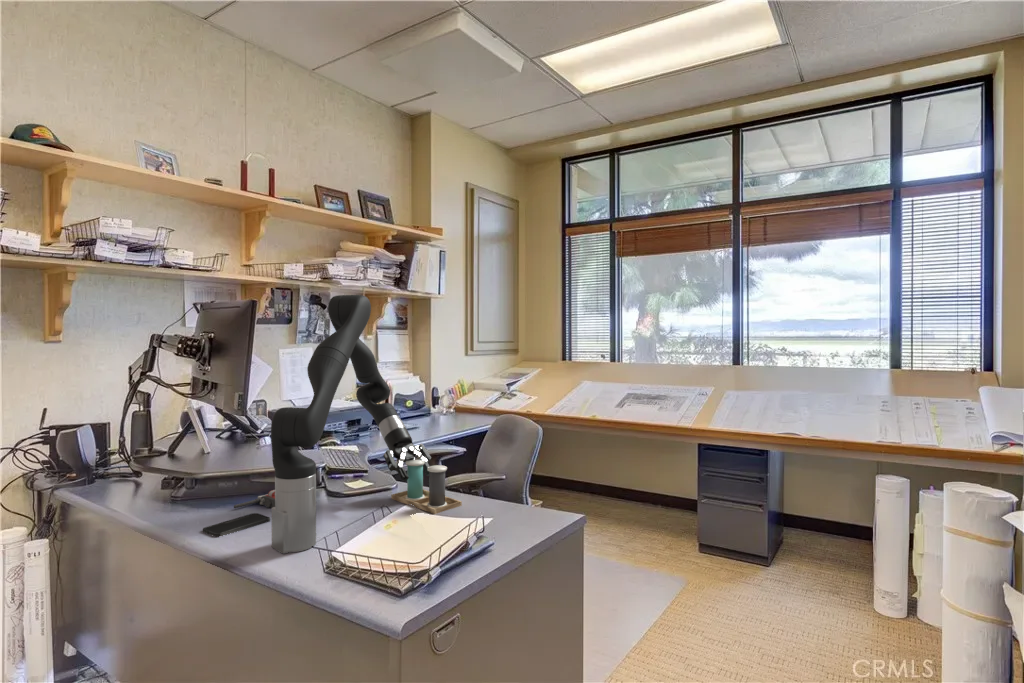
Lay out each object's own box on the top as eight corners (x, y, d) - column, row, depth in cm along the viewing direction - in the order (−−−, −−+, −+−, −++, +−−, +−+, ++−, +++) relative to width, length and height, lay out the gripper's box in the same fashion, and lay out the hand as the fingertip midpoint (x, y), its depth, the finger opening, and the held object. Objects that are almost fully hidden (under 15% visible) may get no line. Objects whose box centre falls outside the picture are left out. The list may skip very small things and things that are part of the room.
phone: (272, 518, 153) (217, 534, 141) (271, 522, 153) (217, 539, 141) (255, 512, 157) (200, 528, 145) (255, 516, 157) (200, 532, 145)
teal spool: (413, 502, 165) (413, 464, 165) (401, 498, 169) (401, 461, 169) (428, 498, 169) (428, 461, 169) (416, 494, 173) (416, 458, 173)
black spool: (435, 510, 158) (436, 471, 158) (423, 505, 162) (423, 467, 162) (450, 505, 162) (451, 467, 162) (438, 501, 166) (438, 464, 166)
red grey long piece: (293, 494, 178) (231, 511, 162) (293, 480, 178) (231, 495, 162) (310, 499, 173) (248, 516, 157) (310, 485, 173) (248, 501, 157)
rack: (461, 510, 163) (461, 501, 162) (434, 519, 155) (434, 509, 155) (417, 496, 176) (417, 487, 176) (391, 503, 169) (391, 494, 168)
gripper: (380, 429, 168) (404, 474, 161) (418, 423, 179) (442, 465, 171) (370, 444, 172) (393, 489, 164) (408, 437, 182) (430, 479, 175)
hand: (418, 477), depth 168 cm, fingers open, 8 cm apart
